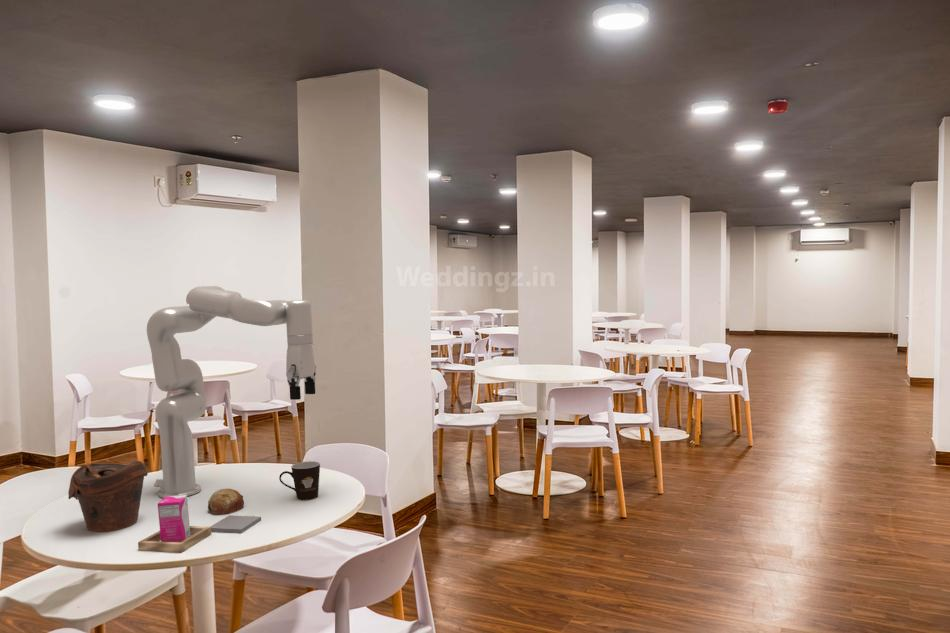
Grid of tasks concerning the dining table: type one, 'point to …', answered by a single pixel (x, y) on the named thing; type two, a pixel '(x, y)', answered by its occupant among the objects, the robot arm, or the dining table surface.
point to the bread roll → (225, 502)
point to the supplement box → (174, 519)
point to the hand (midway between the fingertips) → (303, 396)
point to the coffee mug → (305, 479)
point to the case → (108, 494)
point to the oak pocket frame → (155, 545)
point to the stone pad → (235, 524)
